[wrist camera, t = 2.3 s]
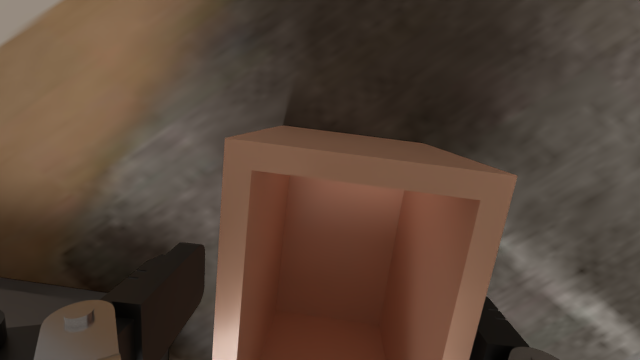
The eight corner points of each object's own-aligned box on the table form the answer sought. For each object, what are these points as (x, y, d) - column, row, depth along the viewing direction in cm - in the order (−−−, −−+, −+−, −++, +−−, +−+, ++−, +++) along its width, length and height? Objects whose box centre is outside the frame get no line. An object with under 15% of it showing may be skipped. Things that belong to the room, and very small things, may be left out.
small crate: (424, 143, 13) (517, 176, 6) (387, 329, 15) (429, 509, 8) (282, 125, 13) (225, 137, 6) (264, 311, 15) (205, 473, 8)
